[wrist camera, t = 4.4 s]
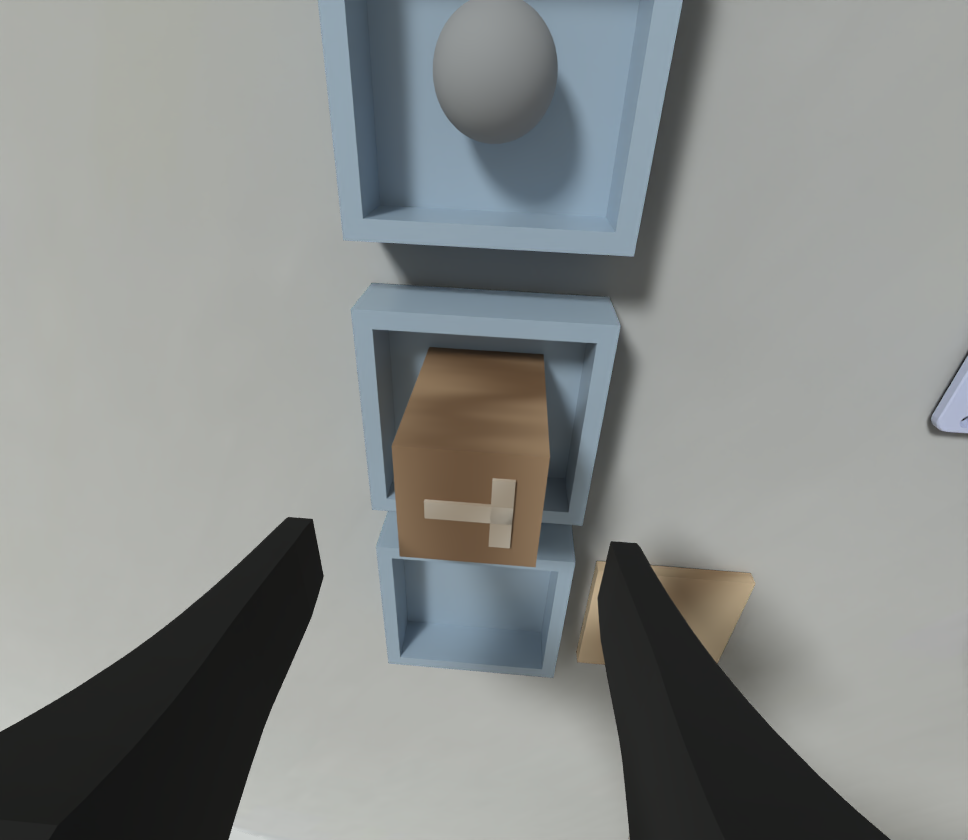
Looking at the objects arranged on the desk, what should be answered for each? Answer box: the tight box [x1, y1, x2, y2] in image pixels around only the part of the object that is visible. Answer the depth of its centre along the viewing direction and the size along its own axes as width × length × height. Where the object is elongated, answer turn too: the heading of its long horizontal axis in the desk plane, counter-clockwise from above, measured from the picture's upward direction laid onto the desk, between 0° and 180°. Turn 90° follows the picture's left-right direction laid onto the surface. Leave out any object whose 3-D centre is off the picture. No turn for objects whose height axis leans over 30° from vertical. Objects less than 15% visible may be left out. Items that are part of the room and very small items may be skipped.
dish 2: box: [351, 283, 621, 526], centre depth 18 cm, size 8×8×2 cm
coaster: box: [576, 561, 755, 665], centre depth 25 cm, size 7×7×1 cm
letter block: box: [392, 347, 550, 567], centre depth 17 cm, size 4×4×6 cm
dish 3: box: [376, 511, 575, 678], centre depth 24 cm, size 8×8×2 cm
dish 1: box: [318, 0, 683, 257], centre depth 13 cm, size 8×8×2 cm
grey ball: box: [433, 0, 558, 144], centre depth 12 cm, size 3×3×3 cm
